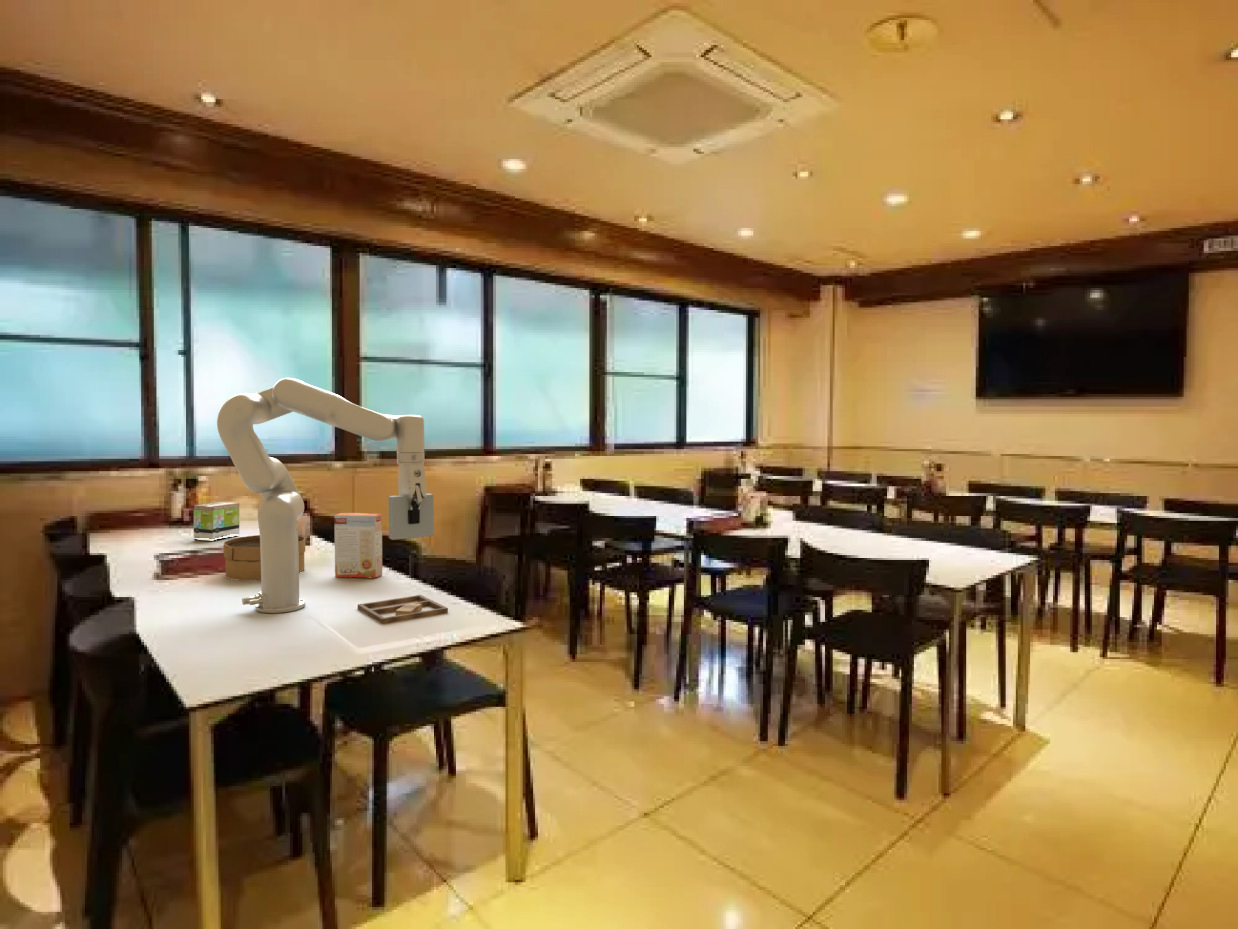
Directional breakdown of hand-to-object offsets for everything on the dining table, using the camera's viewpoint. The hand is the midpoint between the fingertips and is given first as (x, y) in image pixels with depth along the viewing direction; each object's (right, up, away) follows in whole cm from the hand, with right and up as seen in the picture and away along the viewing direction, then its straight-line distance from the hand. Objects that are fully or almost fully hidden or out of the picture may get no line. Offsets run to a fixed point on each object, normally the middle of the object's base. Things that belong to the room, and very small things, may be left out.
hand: (411, 522), depth 209 cm
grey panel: (0, -4, 0) cm, 4 cm away
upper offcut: (+3, -23, -14) cm, 27 cm away
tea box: (-110, -15, +99) cm, 149 cm away
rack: (+1, -24, -11) cm, 27 cm away
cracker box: (-27, -21, +34) cm, 48 cm away
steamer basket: (-60, -20, +38) cm, 74 cm away
